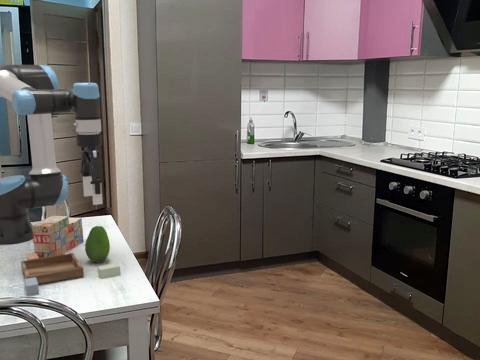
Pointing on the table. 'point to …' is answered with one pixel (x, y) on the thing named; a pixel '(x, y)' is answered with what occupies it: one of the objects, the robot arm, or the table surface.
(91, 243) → the fruit
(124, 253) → the table surface
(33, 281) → the slate brick
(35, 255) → the terracotta brick
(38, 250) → the stack of blocks
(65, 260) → the tray
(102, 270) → the sage brick
